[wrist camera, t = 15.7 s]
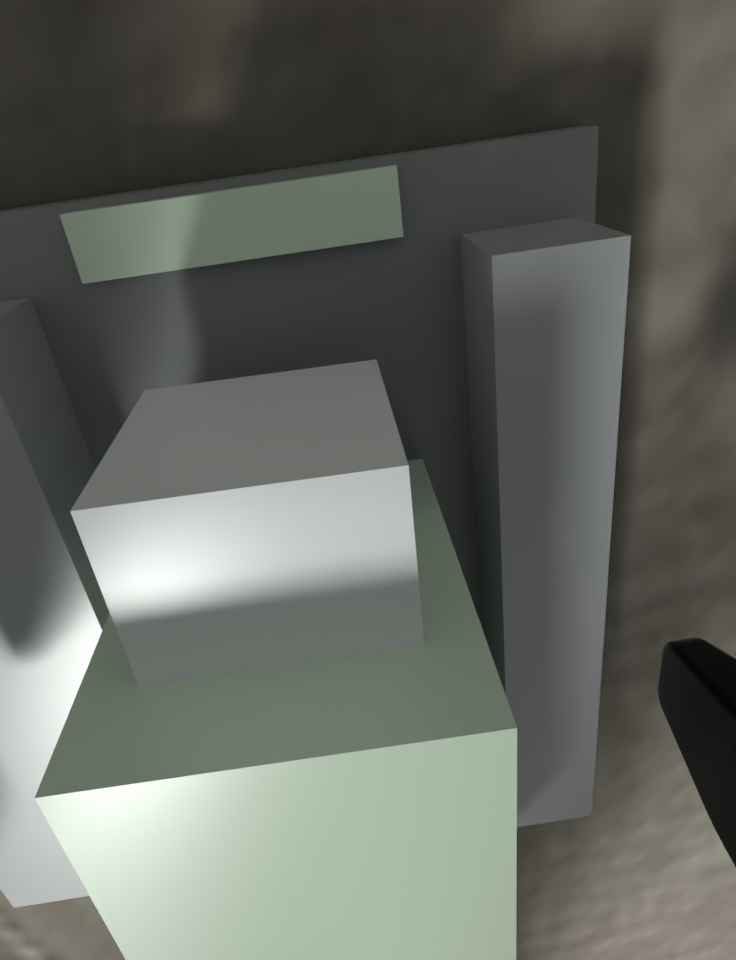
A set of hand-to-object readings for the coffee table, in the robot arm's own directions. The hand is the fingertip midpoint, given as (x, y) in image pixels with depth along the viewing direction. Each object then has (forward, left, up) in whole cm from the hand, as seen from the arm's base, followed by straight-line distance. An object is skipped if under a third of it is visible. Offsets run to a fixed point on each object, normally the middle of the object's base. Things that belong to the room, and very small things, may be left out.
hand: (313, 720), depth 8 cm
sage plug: (-1, 0, -3) cm, 3 cm away
